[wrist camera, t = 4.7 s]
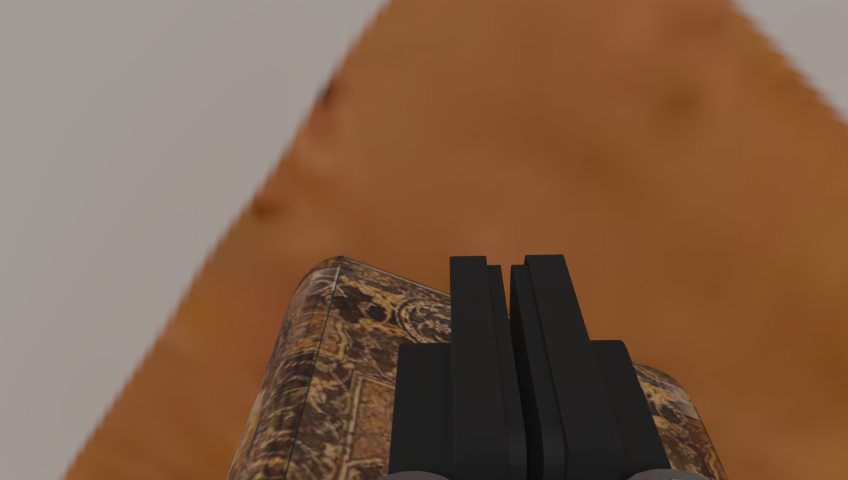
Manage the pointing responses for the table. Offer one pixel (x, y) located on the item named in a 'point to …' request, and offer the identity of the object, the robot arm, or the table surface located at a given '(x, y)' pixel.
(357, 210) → the table surface
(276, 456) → the book
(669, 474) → the robot arm
